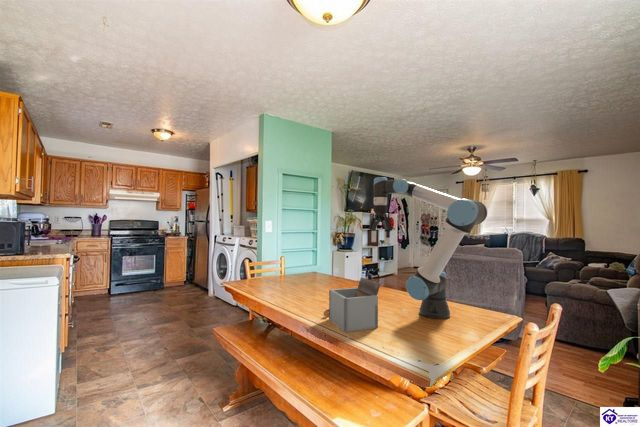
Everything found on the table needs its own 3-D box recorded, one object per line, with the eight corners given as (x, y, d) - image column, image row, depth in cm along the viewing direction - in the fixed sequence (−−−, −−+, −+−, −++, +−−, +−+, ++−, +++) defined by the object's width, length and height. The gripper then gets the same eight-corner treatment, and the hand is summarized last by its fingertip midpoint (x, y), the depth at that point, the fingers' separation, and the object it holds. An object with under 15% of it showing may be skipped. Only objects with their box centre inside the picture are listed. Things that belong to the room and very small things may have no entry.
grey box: (358, 315, 154) (358, 287, 155) (377, 327, 137) (377, 295, 137) (329, 319, 148) (329, 289, 149) (345, 332, 131) (345, 298, 132)
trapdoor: (366, 278, 154) (360, 277, 153) (380, 284, 141) (374, 282, 140) (356, 312, 151) (350, 310, 150) (370, 321, 138) (363, 319, 137)
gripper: (363, 205, 178) (363, 241, 178) (387, 203, 155) (386, 244, 155) (374, 206, 181) (374, 241, 181) (399, 204, 158) (399, 244, 157)
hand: (380, 242), depth 168 cm, fingers open, 13 cm apart
